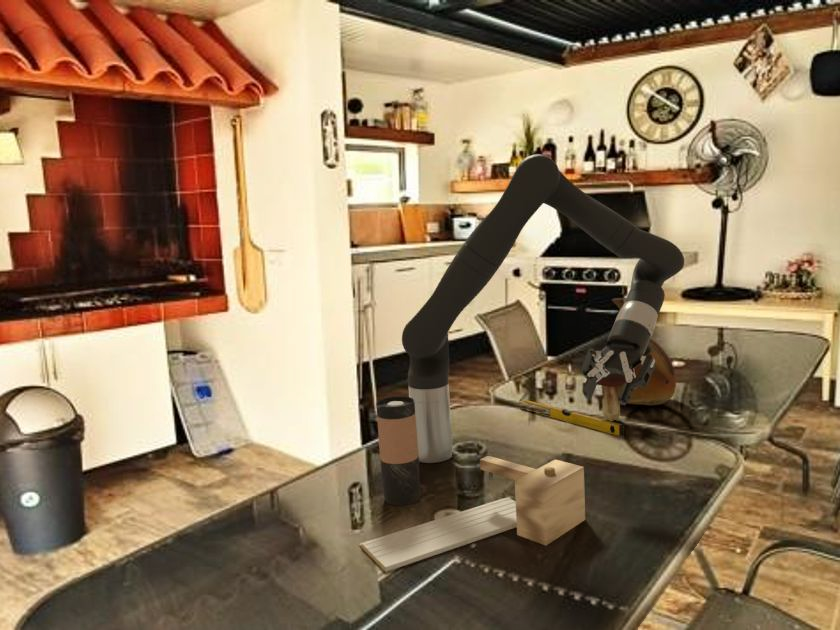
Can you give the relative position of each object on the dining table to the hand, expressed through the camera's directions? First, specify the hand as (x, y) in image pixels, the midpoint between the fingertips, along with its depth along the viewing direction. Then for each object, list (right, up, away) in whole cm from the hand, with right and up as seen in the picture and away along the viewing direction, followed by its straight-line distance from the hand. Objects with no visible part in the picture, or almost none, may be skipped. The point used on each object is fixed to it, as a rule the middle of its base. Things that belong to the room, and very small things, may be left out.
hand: (603, 399), depth 128 cm
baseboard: (-30, -23, -8) cm, 39 cm away
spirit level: (+4, -12, +47) cm, 48 cm away
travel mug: (-39, -21, +6) cm, 44 cm away
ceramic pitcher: (+26, -8, +58) cm, 64 cm away
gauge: (-16, -21, -5) cm, 27 cm away
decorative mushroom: (+14, -11, +44) cm, 48 cm away
